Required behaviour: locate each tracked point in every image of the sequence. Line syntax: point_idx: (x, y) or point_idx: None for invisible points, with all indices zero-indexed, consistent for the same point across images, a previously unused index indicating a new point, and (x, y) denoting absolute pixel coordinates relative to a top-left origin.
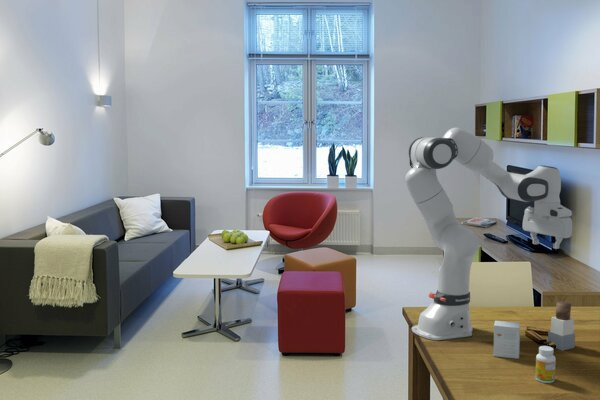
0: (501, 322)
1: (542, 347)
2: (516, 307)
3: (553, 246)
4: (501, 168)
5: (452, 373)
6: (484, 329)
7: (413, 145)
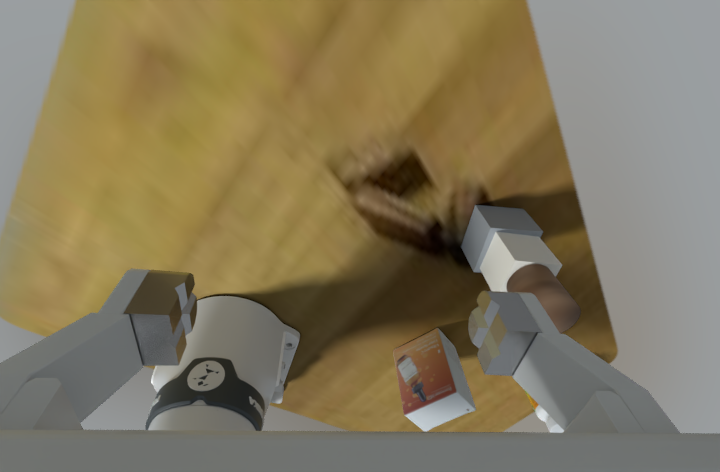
0: (425, 416)
1: (556, 430)
2: None
3: (481, 344)
4: None
5: None
6: (276, 280)
7: None
